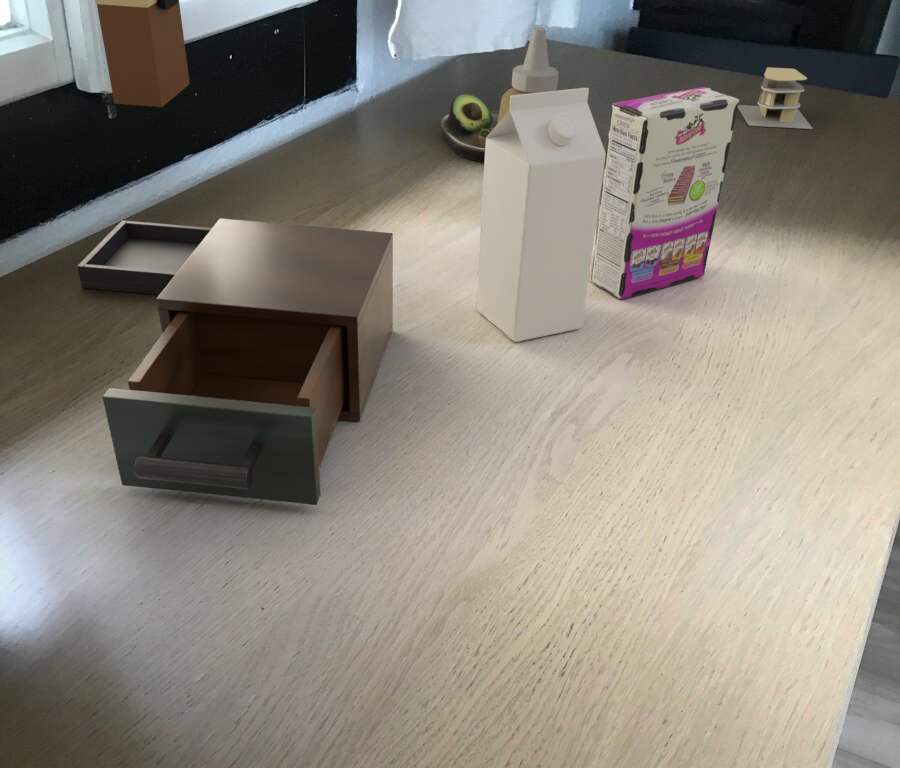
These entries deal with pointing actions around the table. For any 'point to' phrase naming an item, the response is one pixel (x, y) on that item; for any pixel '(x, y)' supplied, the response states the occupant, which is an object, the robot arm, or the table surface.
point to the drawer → (232, 407)
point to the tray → (139, 257)
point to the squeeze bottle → (532, 72)
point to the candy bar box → (661, 189)
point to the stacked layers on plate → (778, 101)
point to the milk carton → (539, 214)
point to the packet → (143, 51)
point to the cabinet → (296, 286)
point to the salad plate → (468, 126)
